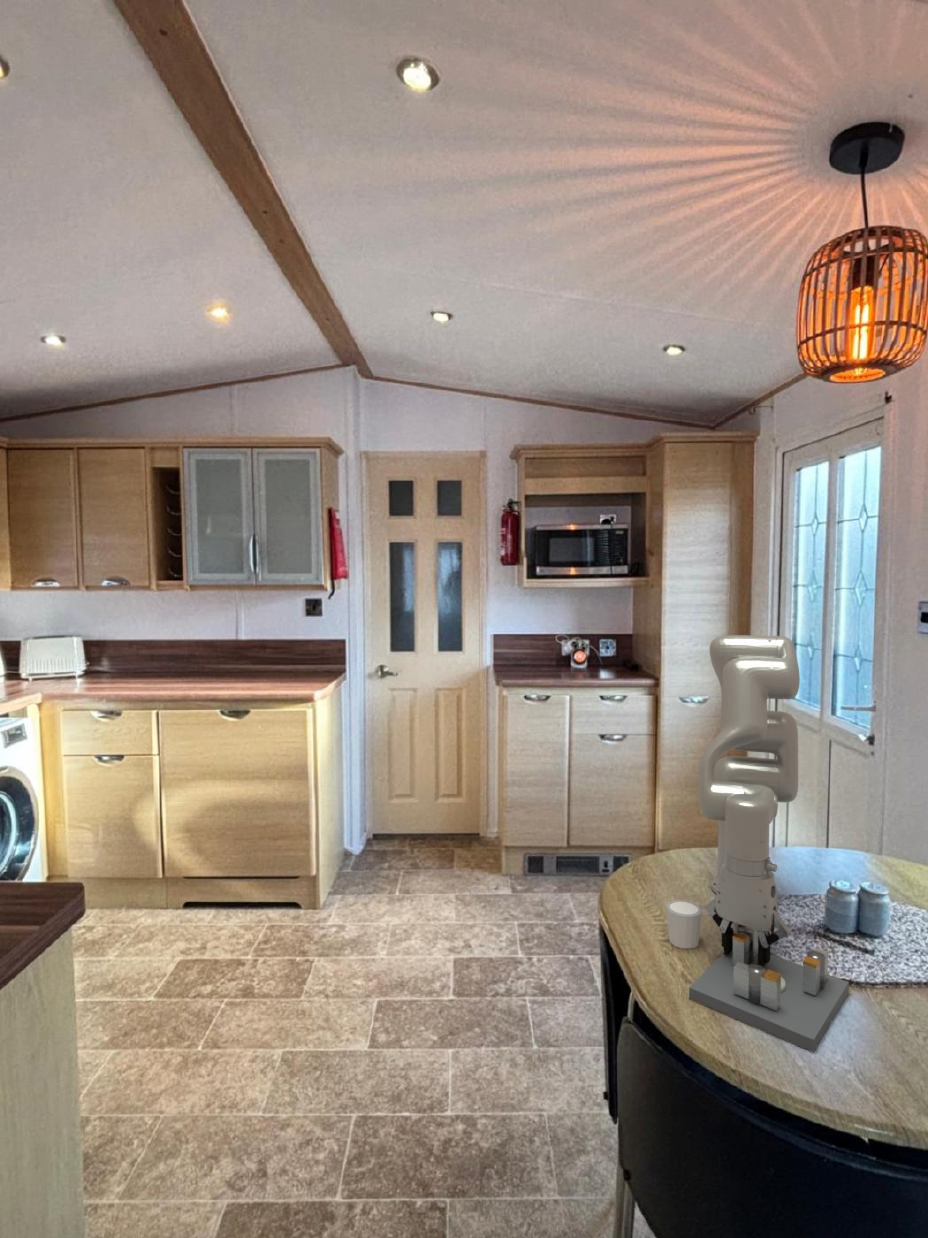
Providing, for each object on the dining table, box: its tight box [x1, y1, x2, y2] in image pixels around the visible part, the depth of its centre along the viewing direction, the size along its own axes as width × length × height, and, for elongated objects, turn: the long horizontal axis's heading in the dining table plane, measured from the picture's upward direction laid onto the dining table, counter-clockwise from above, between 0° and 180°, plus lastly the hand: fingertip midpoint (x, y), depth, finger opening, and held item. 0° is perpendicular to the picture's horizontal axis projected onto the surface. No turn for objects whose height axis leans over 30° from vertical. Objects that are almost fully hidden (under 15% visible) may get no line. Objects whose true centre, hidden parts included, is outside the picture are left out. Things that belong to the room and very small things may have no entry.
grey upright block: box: [733, 927, 759, 965], centre depth 126 cm, size 7×3×5 cm, turn 137°
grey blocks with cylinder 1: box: [733, 962, 781, 1011], centre depth 114 cm, size 7×3×5 cm, turn 47°
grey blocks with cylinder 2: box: [802, 947, 829, 996], centre depth 117 cm, size 7×3×5 cm, turn 137°
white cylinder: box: [665, 899, 703, 950], centre depth 136 cm, size 7×7×7 cm
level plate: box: [688, 950, 850, 1053], centre depth 118 cm, size 20×20×3 cm
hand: (745, 957), depth 126 cm, fingers open, 5 cm apart
